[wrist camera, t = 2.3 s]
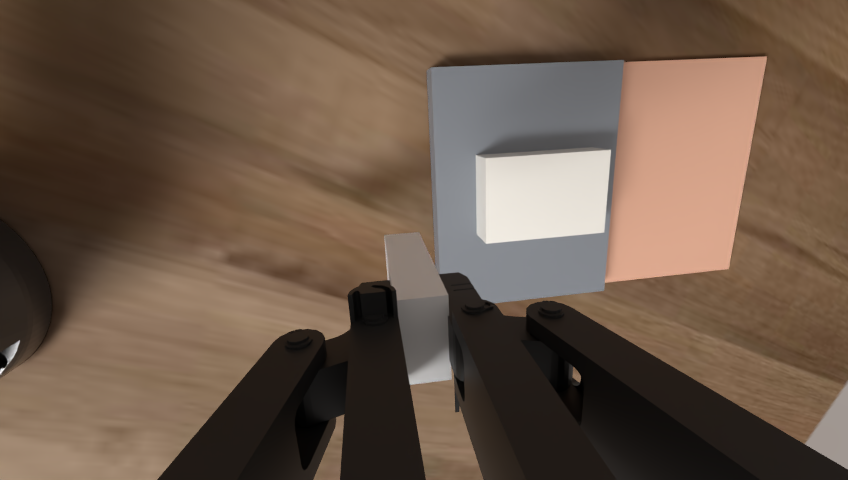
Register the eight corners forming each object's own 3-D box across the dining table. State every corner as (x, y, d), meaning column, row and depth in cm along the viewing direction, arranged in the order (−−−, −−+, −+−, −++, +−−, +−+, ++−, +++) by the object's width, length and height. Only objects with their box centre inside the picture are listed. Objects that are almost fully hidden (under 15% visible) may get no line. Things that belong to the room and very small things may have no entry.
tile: (476, 234, 31) (486, 243, 29) (475, 154, 30) (485, 158, 27) (586, 224, 33) (604, 232, 30) (591, 147, 31) (611, 149, 28)
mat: (593, 281, 36) (596, 283, 36) (610, 63, 31) (614, 62, 31) (724, 266, 38) (728, 268, 38) (761, 57, 33) (767, 56, 32)
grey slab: (436, 298, 35) (441, 309, 33) (426, 70, 29) (431, 67, 27) (591, 281, 36) (604, 290, 35) (608, 63, 31) (623, 59, 29)
